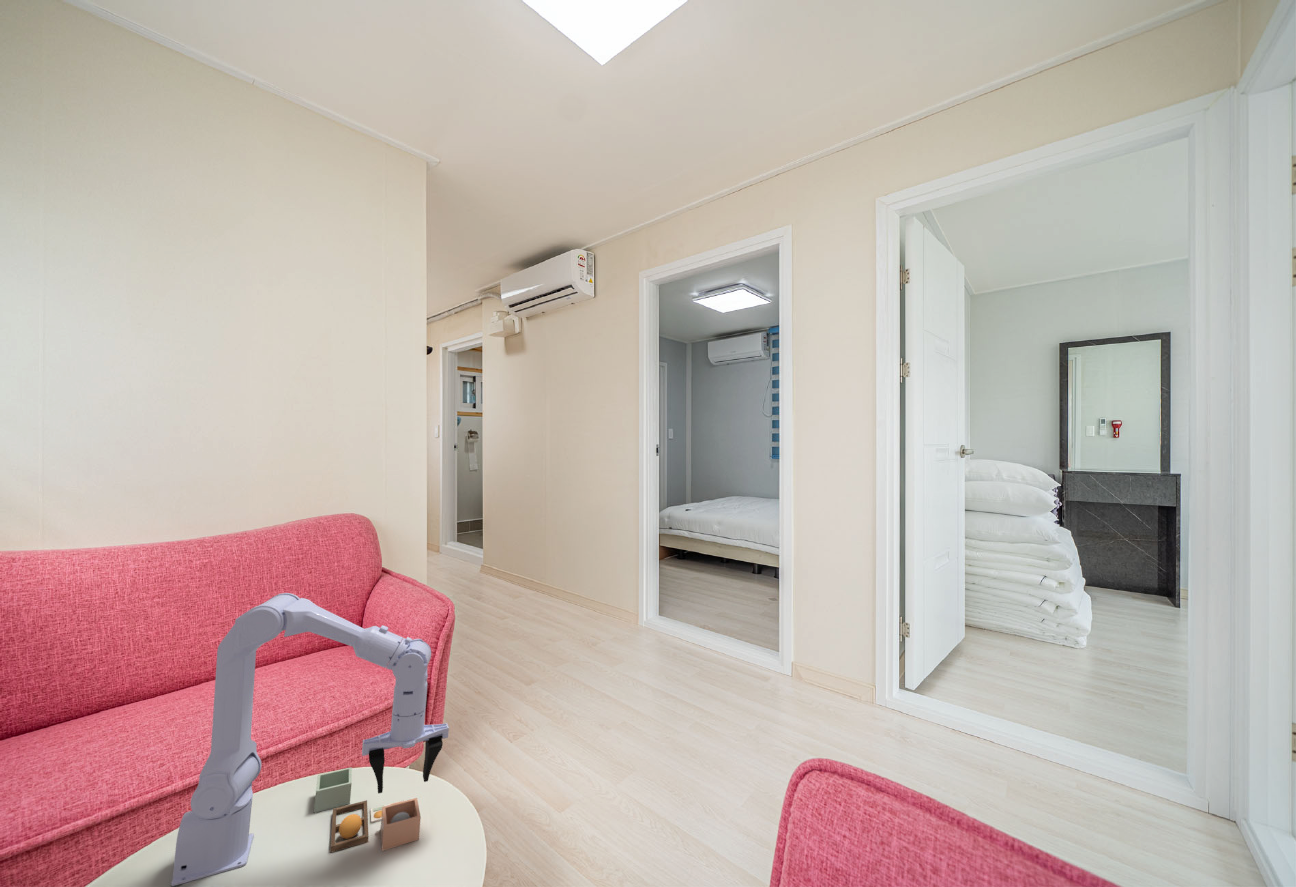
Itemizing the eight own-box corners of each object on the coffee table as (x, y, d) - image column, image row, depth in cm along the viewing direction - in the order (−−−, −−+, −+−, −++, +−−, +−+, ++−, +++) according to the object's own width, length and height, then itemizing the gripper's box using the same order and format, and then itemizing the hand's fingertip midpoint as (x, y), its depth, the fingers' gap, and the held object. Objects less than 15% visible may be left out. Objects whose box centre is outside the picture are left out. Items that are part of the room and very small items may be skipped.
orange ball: (337, 846, 89) (339, 825, 89) (338, 833, 92) (340, 813, 92) (361, 839, 90) (362, 819, 91) (360, 827, 93) (362, 807, 94)
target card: (370, 823, 95) (371, 820, 95) (370, 810, 98) (370, 808, 98) (405, 813, 98) (405, 811, 98) (403, 801, 101) (404, 799, 101)
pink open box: (382, 850, 88) (384, 827, 88) (380, 829, 93) (382, 807, 93) (418, 839, 91) (420, 816, 91) (415, 819, 96) (417, 797, 96)
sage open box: (314, 812, 97) (315, 791, 97) (316, 795, 102) (317, 774, 102) (349, 803, 100) (351, 783, 100) (349, 786, 105) (351, 767, 105)
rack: (330, 852, 87) (330, 846, 87) (332, 814, 96) (332, 809, 96) (368, 841, 90) (368, 836, 90) (366, 805, 99) (367, 800, 99)
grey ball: (389, 844, 90) (390, 823, 90) (387, 831, 93) (389, 811, 93) (411, 837, 92) (412, 816, 92) (409, 824, 95) (410, 805, 95)
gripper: (365, 727, 86) (358, 808, 86) (453, 711, 94) (447, 785, 93) (364, 710, 92) (358, 785, 92) (447, 695, 100) (442, 765, 99)
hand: (403, 784), depth 93 cm, fingers open, 7 cm apart
